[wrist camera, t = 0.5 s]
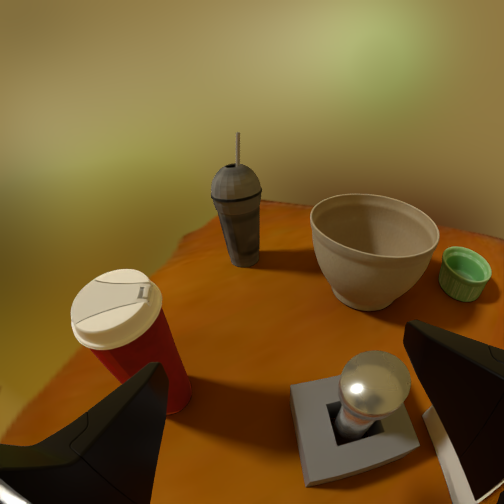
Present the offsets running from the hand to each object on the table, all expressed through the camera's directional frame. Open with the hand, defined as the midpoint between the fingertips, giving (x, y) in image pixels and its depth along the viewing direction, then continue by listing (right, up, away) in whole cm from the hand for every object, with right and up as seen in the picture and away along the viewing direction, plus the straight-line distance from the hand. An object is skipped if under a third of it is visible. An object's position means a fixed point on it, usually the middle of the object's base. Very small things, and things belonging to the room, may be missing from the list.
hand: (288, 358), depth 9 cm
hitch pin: (+7, -13, +11) cm, 18 cm away
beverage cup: (-2, +2, +36) cm, 36 cm away
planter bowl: (+15, -2, +27) cm, 31 cm away
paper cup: (-10, -11, +16) cm, 22 cm away
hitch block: (+7, -13, +11) cm, 18 cm away
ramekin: (+31, -2, +24) cm, 39 cm away
